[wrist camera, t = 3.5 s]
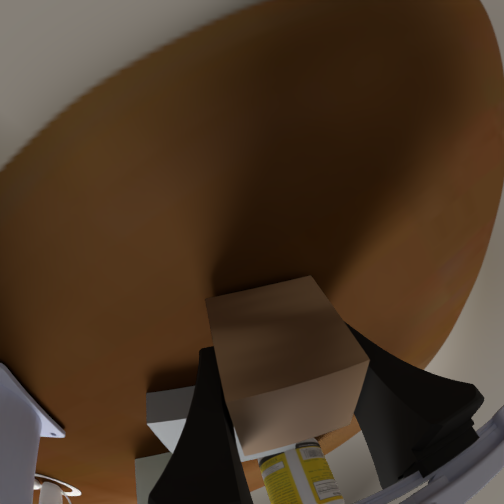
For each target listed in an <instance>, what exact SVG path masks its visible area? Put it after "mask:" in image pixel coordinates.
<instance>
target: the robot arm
mask: <svg viewBox="0 0 504 504" xmlns="http://www.w3.org/2000/svg"><path fill="white" fill-rule="evenodd" d="M344 323H345V324H346V325H347V327H348V328H349V330H350V331H351V333H352V334H353V336H354V337H355V338H356V340H357V341H358V343H359V344H360V346H361V347H362V349H363V350H364V352H365V353H366V354H367V356H368V357H369V359H370V361H369V365H368V368H367V372H366V375H365V379H364V382H363V385H362V389H361V392H360V395H359V398H358V401H357V404H356V407H355V410H354V414H355V416H356V419H357V421H358V423H359V425H360V428H361V430H362V433H363V435H364V437H365V440H366V442H367V445H368V448H369V450H370V453H371V456H372V459H373V462H374V465H375V468H376V471H377V474H378V477H379V481H380V485H381V487H382V489H383V490H381V491H379V492H377V493H375V494H373V495H371V496H369V497H367V498H364V499H362V500H360V501H357V502H355V503H352V504H387V503H389V502H391V501H393V500H395V499H397V498H399V497H401V496H402V495H404V494H406V493H408V492H410V491H411V490H413V489H415V488H417V487H418V486H420V485H422V484H423V483H425V482H427V481H428V480H429V482H428V485H427V486H425V487H424V488H422V489H420V490H419V491H417V492H416V493H414V494H413V495H411V496H410V497H408V498H407V499H406V500H404V501H402V502H401V503H399V504H465V503H466V502H467V501H469V500H470V499H471V498H472V497H473V496H474V495H476V494H477V493H478V492H479V491H480V490H481V489H482V488H483V487H484V486H485V485H486V484H487V483H489V481H490V480H492V479H493V478H494V476H496V475H497V474H498V472H499V471H501V469H502V468H503V467H504V405H503V406H502V407H501V408H500V409H499V410H498V411H497V412H496V414H495V415H494V416H493V417H492V419H491V420H489V421H488V422H487V423H486V424H484V425H483V426H482V427H481V428H480V429H478V430H477V431H476V432H475V430H474V429H473V427H472V426H473V425H474V422H473V420H472V419H471V417H472V416H473V415H474V414H475V413H476V411H477V410H478V409H479V408H480V406H481V405H482V403H483V402H484V397H483V395H482V394H481V393H480V392H479V391H478V389H477V388H476V387H475V386H474V385H473V384H470V383H465V382H460V381H455V380H451V379H448V378H444V377H441V376H438V375H435V374H432V373H429V372H427V371H424V370H422V369H419V368H417V367H415V366H412V365H410V364H408V363H406V362H404V361H402V360H400V359H399V358H397V357H395V356H393V355H392V354H390V353H388V352H387V351H385V350H383V349H382V348H380V347H379V346H377V345H376V344H374V343H373V342H372V341H370V340H369V339H367V338H366V337H364V336H363V335H362V334H360V333H359V332H358V331H356V330H355V329H354V328H352V327H351V326H350V325H348V324H347V323H346V322H344ZM40 436H42V437H60V438H62V437H65V431H64V430H63V429H62V428H61V427H60V426H59V425H58V424H57V423H56V422H55V421H54V420H53V419H52V418H51V417H50V416H49V415H48V414H47V413H46V412H45V411H44V410H43V409H42V408H41V407H40V406H39V405H38V404H37V403H36V401H35V400H34V399H33V398H32V397H31V396H30V395H29V394H28V392H27V391H26V390H25V389H24V388H23V387H22V386H21V384H20V383H19V382H18V381H17V379H16V378H15V377H14V376H13V375H12V373H11V372H10V371H9V369H8V368H7V367H6V366H5V365H4V364H2V363H0V504H32V503H33V488H34V477H35V468H36V461H37V453H38V447H39V441H40ZM148 504H253V501H252V498H251V495H250V491H249V488H248V485H247V481H246V478H245V474H244V471H243V467H242V464H241V460H240V456H239V453H238V448H237V443H236V438H235V431H234V425H233V422H232V419H231V417H230V414H229V411H228V408H227V405H226V401H225V397H224V392H223V388H222V383H221V378H220V374H219V369H218V364H217V359H216V354H215V349H214V346H212V347H207V348H202V349H201V350H200V351H199V366H198V373H197V379H196V384H195V389H194V394H193V398H192V402H191V405H190V409H189V413H188V416H187V419H186V422H185V425H184V428H183V430H182V433H181V436H180V438H179V440H178V443H177V445H176V447H175V450H174V452H173V454H172V456H171V458H170V460H169V462H168V463H167V465H166V467H165V469H164V471H163V473H162V475H161V476H160V478H159V479H158V481H157V482H156V484H155V486H154V487H153V489H152V490H151V492H150V493H149V497H148Z"/></svg>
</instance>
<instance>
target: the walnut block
mask: <svg viewBox="0 0 504 504" xmlns="http://www.w3.org/2000/svg"><path fill="white" fill-rule="evenodd" d="M205 301H206V306H207V312H208V318H209V323H210V328H211V334H212V339H213V344H214V349H215V354H216V359H217V364H218V369H219V374H220V378H221V383H222V388H223V392H224V397H225V401H226V405H227V408H228V411H229V414H230V417H231V419H232V422H233V425H234V428H235V431H236V434H237V437H238V439H239V442H240V445H241V448H242V450H243V453H244V456H248V455H252V454H257V453H261V452H265V451H269V450H273V449H277V448H280V447H284V446H287V445H291V444H294V443H298V442H301V441H304V440H307V439H310V438H314V437H317V436H319V435H322V434H325V433H328V432H331V431H334V430H336V429H339V428H342V427H344V426H347V425H350V422H351V419H352V416H353V413H354V410H355V407H356V404H357V401H358V398H359V395H360V392H361V389H362V385H363V382H364V379H365V375H366V372H367V368H368V365H369V361H370V359H369V357H368V356H367V354H366V353H365V352H364V350H363V349H362V347H361V346H360V344H359V343H358V341H357V340H356V338H355V337H354V336H353V334H352V333H351V331H350V330H349V328H348V327H347V325H346V324H345V323H344V321H343V320H342V318H341V317H340V315H339V314H338V313H337V311H336V310H335V308H334V307H333V306H332V304H331V303H330V301H329V300H328V298H327V297H326V296H325V294H324V293H323V291H322V290H321V289H320V287H319V286H318V284H317V283H316V282H315V280H314V279H313V278H312V276H311V275H310V276H306V277H302V278H298V279H293V280H289V281H285V282H280V283H276V284H271V285H267V286H263V287H258V288H254V289H249V290H244V291H240V292H235V293H231V294H226V295H221V296H216V297H211V298H207V299H205Z"/></svg>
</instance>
